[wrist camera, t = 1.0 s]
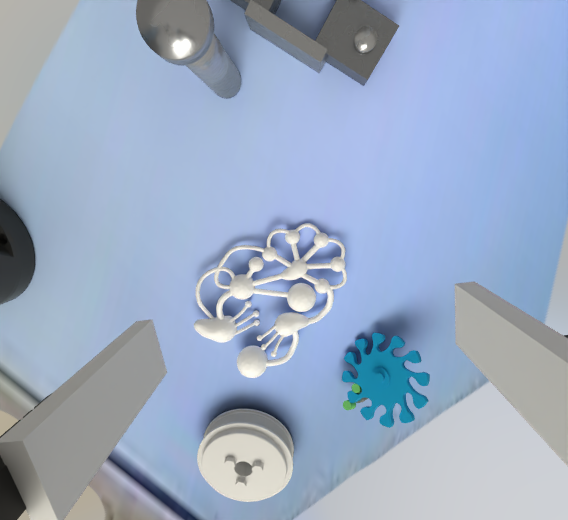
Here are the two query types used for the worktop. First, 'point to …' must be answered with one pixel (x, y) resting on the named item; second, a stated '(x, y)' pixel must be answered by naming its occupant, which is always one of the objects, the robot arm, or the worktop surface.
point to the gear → (383, 380)
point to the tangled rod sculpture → (298, 296)
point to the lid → (246, 455)
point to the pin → (188, 41)
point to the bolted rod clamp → (328, 36)
